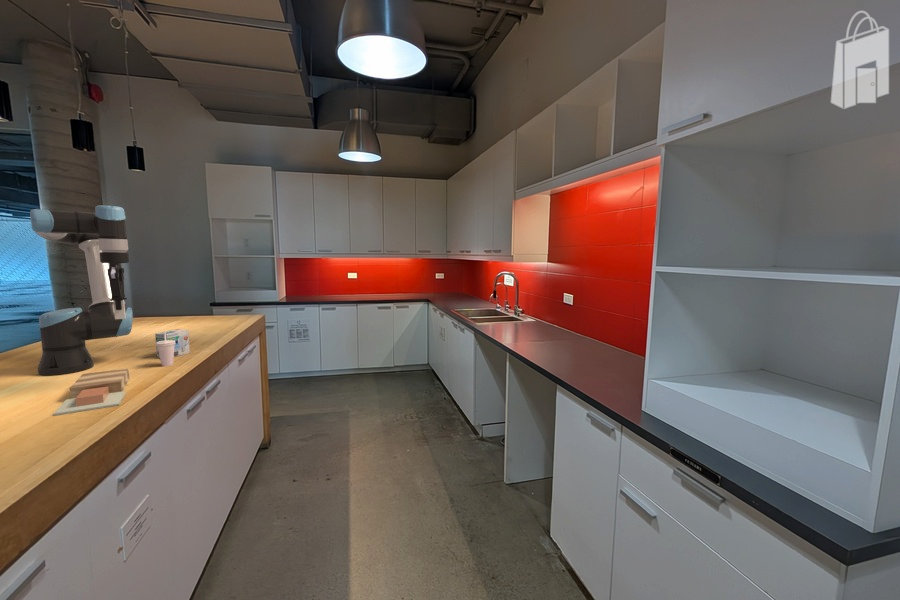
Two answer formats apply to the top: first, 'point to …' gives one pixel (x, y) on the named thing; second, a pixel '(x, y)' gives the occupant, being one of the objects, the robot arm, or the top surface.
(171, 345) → the smoothie
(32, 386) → the top surface
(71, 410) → the mat
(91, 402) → the tile
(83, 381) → the deck
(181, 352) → the light bulb box
